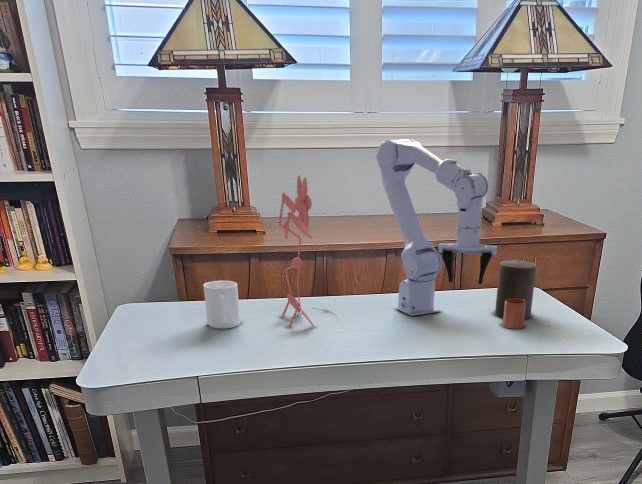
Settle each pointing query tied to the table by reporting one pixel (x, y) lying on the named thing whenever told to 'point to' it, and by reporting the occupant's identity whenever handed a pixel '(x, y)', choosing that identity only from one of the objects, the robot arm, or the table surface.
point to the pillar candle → (515, 284)
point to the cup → (222, 304)
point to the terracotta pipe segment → (514, 313)
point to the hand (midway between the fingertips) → (465, 282)
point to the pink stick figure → (302, 223)
